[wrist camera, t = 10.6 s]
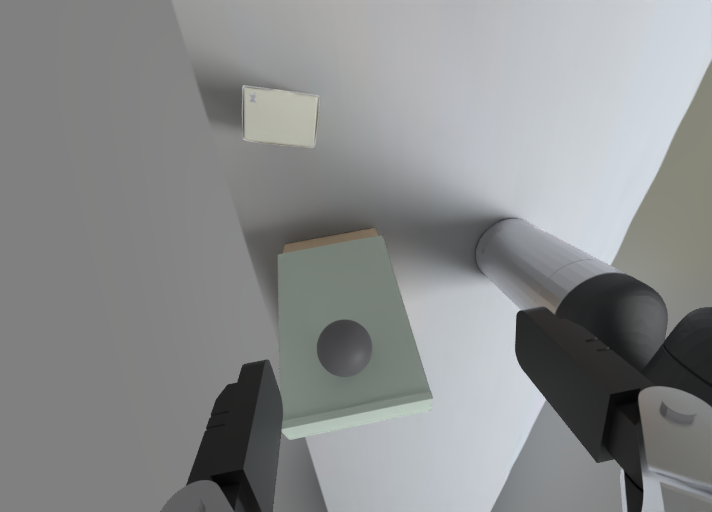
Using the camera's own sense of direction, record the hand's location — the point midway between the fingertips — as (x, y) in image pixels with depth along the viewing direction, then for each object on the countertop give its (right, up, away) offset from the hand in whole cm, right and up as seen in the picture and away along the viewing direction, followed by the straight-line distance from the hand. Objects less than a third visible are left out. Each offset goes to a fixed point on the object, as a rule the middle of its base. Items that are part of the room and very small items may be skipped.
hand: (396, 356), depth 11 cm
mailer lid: (-2, -4, +25) cm, 25 cm away
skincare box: (-9, +19, +28) cm, 35 cm away
